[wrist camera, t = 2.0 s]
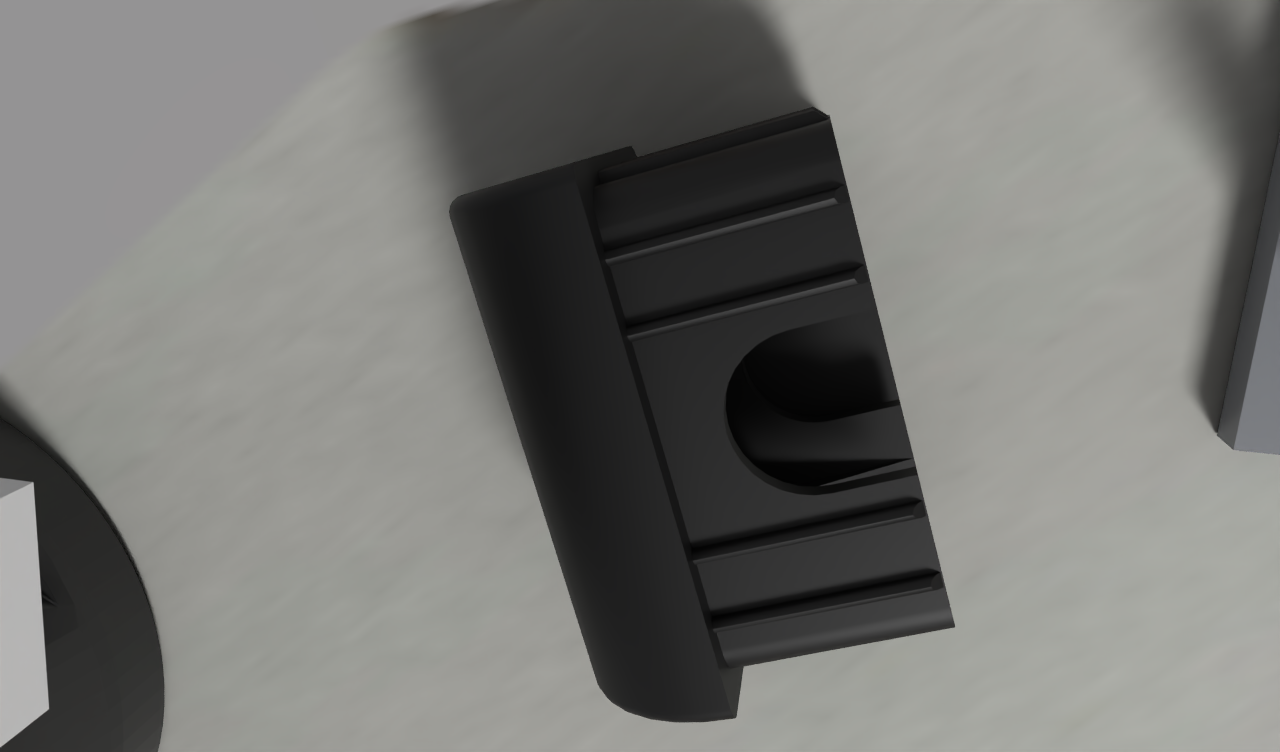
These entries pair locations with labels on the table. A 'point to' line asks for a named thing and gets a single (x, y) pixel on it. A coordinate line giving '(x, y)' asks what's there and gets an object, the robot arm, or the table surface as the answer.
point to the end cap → (706, 409)
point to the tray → (1258, 343)
